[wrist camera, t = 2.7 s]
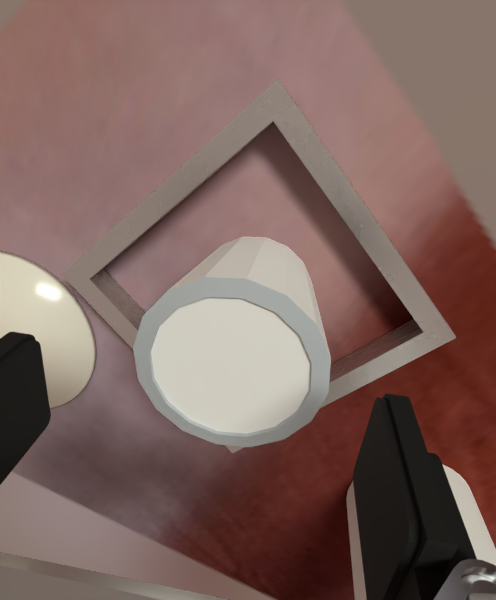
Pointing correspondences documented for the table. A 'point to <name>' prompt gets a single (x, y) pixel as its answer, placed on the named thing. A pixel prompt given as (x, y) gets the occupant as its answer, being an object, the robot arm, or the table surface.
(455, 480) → the cylindrical container
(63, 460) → the table surface
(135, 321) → the holder collar
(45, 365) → the cream flat disc
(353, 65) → the table surface
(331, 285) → the table surface
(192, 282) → the white cup
